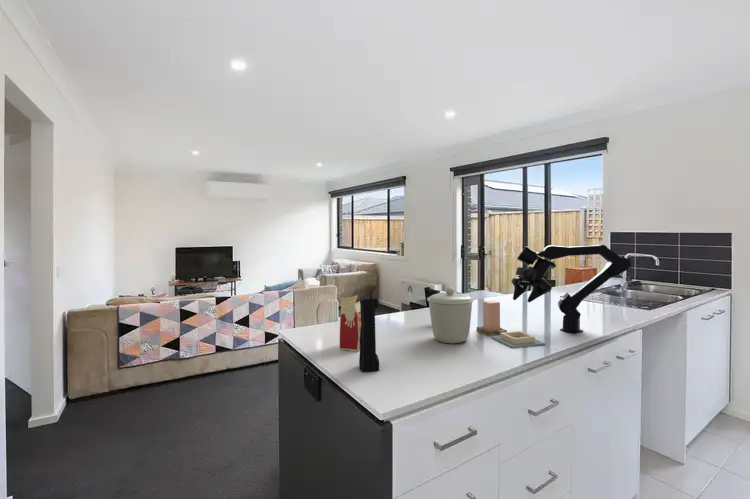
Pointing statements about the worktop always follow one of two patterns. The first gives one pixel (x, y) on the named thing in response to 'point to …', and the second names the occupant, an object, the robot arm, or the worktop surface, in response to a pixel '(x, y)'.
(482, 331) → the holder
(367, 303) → the portable radio
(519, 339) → the mat
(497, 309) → the peg
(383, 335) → the worktop surface
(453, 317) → the canister
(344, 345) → the milk carton
